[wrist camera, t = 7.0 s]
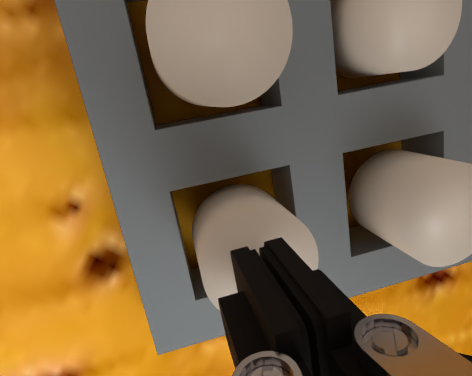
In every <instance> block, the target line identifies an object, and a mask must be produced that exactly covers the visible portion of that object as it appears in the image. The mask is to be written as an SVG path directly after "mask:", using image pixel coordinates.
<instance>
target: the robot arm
mask: <svg viewBox="0 0 472 376" xmlns="http://www.w3.org/2000/svg"><path fill="white" fill-rule="evenodd" d="M259 253H260V255H259V254H258V252H257V251H256V250H255V249H253V250H250V249H249V248H248V247H247V246H246V247H242V248H239V249H235V250H231V251H230V255H231V260H232V265H233V271H234V276H235V281H236V286H237V291H238V293H234V294H231V295H228V296H224V297H221V298H218V303H219V308H220V312H221V317H222V322H223V326H224V330H225V334H226V338H227V342H228V346H229V349H230V352H231V356H232V359H233V362H234V366H235V371H234V373H233V375H232V376H472V356H469V355H465V354H461V353H457V352H455V351H454V350H453V349H451V348H450V347H448V346H447V345H445V344H444V343H442V342H441V341H439V340H438V339H436V338H435V337H433V336H432V335H430V334H429V333H428V332H426V331H425V330H423V329H422V328H420V327H419V326H417V325H416V324H414V323H413V322H411V321H409V320H407V319H405V318H402V317H399V316H396V315H390V314H374V315H371V316H368V317H366V316H365V315H364V313H363V312H362V311H361V310H360V309H359V308H358V307H357V306H356V305H355V304H354V303H353V302H352V301H351V300H350V299H349V298H348V297H347V296H346V295H345V294H344V293H343V292H342V291H341V290H340V289H339V288H338V287H337V286H336V285H335V284H334V283H333V282H332V281H331V280H330V279H329V278H328V277H327V276H326V275H325V274H324V273H323V272H322V271H321V270H319V269H317V270H313V271H312V269H311V268H310V267H309V266H308V265H307V264H306V263H305V262H304V261H303V260H302V259H301V258H300V257H299V255H298V254H297V253H296V252H295V251H294V250H293V249H292V248H291V247H290V246H289V245H288V244H287V242H286V241H285V240H284V239H283V238H282V237H280V238H276V239H272V240H269V241H265V242H264V247H260V248H259Z"/></svg>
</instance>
